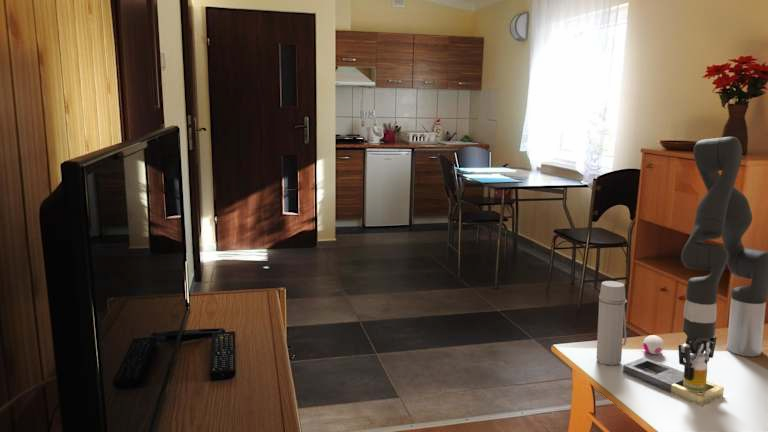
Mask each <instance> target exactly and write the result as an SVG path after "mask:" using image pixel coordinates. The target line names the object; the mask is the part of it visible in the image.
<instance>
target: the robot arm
mask: <svg viewBox="0 0 768 432" xmlns="http://www.w3.org/2000/svg"><path fill="white" fill-rule="evenodd" d="M693 159H694V163H695V166H696V168H697V171H698V173H699V175H700V177H701V179H702V182H703V184H704V186H705V188H706V193H705V194H704V196H702V198H701V199H700V200H699V203H698V204H697V208H696V210H695V217H694V223H693V229H692V231H691V233H690V236H689V237H688V240H687V241H686V243H685V245H684V246H683V248H682V251H681V255H680V260H681V262H682V264H683V266H684V267H685V268H687V269H691V270H700V271H708V272H709V273H710V274H708V275H704V276H695V277H694V276H693V277H691V278H689V279H688V280H687V284H686V296H685V302H684V308H683V319H682V320H683V322H682V332H683V333H684V334H685V335H686V340H685V343H683V344H682V343H679V344H678V346H677V347H678V363H679V365H681V366H685V370H683V372H684V378H685V379H688V380H690V381H691V380H693V379H694V365H695V362H696V360H698V359H699V356H700V353H702V354H704V355H705V361H704V362H705V363H706V364H707V365H708V362H709V361H710V359H713V358H714V353H715V348H716V343H717V336H715V335H716V328H717V327H716V325H717V314H718V313H717V312H718V310H717V307H718V306H717V299H718V289H719V284H720V280H721V277H722V276H723V273H724V271H725V269H726V266H727V267H728V269H729V272H730V273H731V274H732V275H734V276H735V277H736V276H737V277H740V278H745V279H749V280H751V282H750V285H744V286H743V285H742V286H736V287H734V288H732V290H731V296H730V297H731V298H730V308H729V320H728V329H727V339H726V349H727V351H729V352H730V353H732V354H735V355H738V356H743V357H749V358H750V357H752V358H754V357H759V356H761V355H762V347H763V337H764V336H763V335H764V325H765V319H766V318H765V315H766V307H767V306H766V304H767V298H768V251H764V250H759V249H754V248H748V247H745V246H744V244H743V242H742V237H744V235H745V233H747V231H748V230H749V228H750V226H751V225H752V223H753V222H752V221H753V214H752V211H751V207H750V204H749V201H748V198H747V197H746V196H745V195H744V193H743V192H742V191H740V190H739V189H737V188H736V187H735V184H736V180H737V178H738V174H739V172H740V168H741V165H742V159H743V147H742V144H741V141H740V140H739V138H737V137H736V136H723V137H715V138H704V139H701V140H698V141H697V142H695V145H694V146H693ZM720 171H721V173H719V172H720ZM720 238H722V242H723V243H722V244H717V243H716V244H715V243H704V242H706V241H709V240H710V241H711V240H718V239H720ZM690 353H692V354H695V356H693V355H690ZM690 358H692V361H691V360H690Z"/></svg>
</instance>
